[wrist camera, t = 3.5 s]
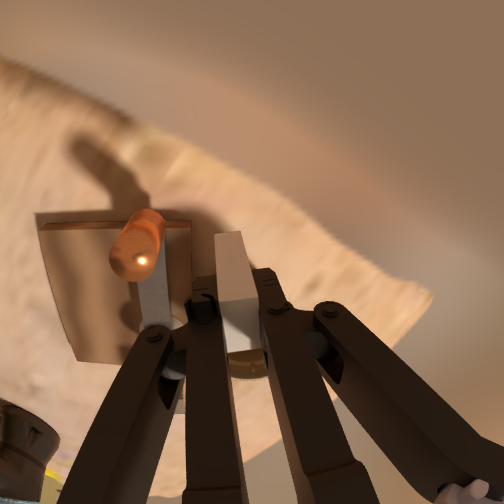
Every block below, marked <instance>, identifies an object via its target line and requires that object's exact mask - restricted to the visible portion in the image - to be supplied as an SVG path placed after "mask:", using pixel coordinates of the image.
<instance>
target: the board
mask: <svg viewBox="0 0 504 504" xmlns="http://www.w3.org/2000/svg"><path fill="white" fill-rule="evenodd" d="M127 222H128V221H118V222H80V223H52V224H46V225H45V226H43V227H42V228H41V229H40V230H39V231H38V232H39V237H40V242H41V247H42V251H43V256H44V260H45V264H46V268H47V272H48V276H49V280H50V284H51V287H52V291H53V294H54V298H55V301H56V304H57V307H58V310H59V313H60V316H61V319H62V322H63V325H64V328H65V331H66V334H67V336H68V339H69V342H70V344H71V347H72V349H73V352H74V354H75V357H76V359H77V361H81V362H90V363H101V364H114V365H122V364H123V363H124V361H125V359H126V357H127V355H128V353H129V351H130V350H131V348H132V346H133V344H134V342H135V341H136V339H137V337H138V335H139V334H140V332H141V331H142V330H143V329H145V328H144V322H143V316H142V310H141V304H140V298H139V291H138V284H137V282H130V281H126V280H124V279H122V278H120V277H119V276H118V275H117V274H115V272H114V271H113V270H112V268H111V266H110V263H109V252H110V249H111V247H112V246H113V244H114V242H115V241H116V239H117V238H118V236H119V235H120V233H121V232H122V230H123V228H124V227H125V225H126V224H127ZM166 230H167V251H168V267H169V280H170V293H171V304H172V314H173V324H174V329H177V328H179V327H182V326H183V325H185V324H186V323H187V322H188V319H187V315H186V311H185V306H184V302H185V299H186V298H188V297H189V296H190V295H192V292H193V290H192V258H191V221H166Z"/></svg>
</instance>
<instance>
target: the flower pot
mask: <svg viewBox="0 0 504 504" xmlns="http://www.w3.org/2000/svg"><path fill="white" fill-rule="evenodd" d="M228 358H229V365H230V373H231V379H232V380H239V381H257V380H262V379H266V378H268V375H267V370H266V368H264V360H263V347H262V348H258V349H251V350H244V351H236V352H228Z"/></svg>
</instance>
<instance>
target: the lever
mask: <svg viewBox="0 0 504 504" xmlns="http://www.w3.org/2000/svg"><path fill="white" fill-rule="evenodd" d="M109 263H110V266H111V268H112V270H113V271H114V272H115V274H117V275H118V276H119V277H120V278H122V279H124V280H126V281H130V282H137V284H138V291H139V298H140V304H141V310H142V316H143V322H144V328H147V327H149V326H152V325H164V326H166V327H167V328H169V330H170V331H171V330H174V324H173V314H172V304H171V293H170V280H169V267H168V251H167V230H166V220H164V219H163V217H162V216H161V215H160V214H159V213H158V212H156V211H154V210H152V209H141V210H138V211H137V212H135V213H134V214H133V215H132V217H131V218H130V219H129V221H128V222H127V224H126V225H125V227H124V228H123V230H122V232H121V233H120V235H119V236H118V238H117V239H116V241H115V242H114V244H113V246H112V247H111V249H110V252H109ZM185 391H186V380H185V382H184V385H183V388H182V391H181V394H180V397H179V400H178V403H177V406H176V409H175V412H174V414H185Z"/></svg>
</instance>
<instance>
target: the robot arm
mask: <svg viewBox="0 0 504 504" xmlns="http://www.w3.org/2000/svg"><path fill="white" fill-rule="evenodd" d="M214 240H215V257H216V273H217V275H213V276H204V277H197V279H196V280H195V281H194V283H193V292H192V295H190V296H189V297H188V298H186V299H185V302H184V306H185V311H186V315H187V319H188V322H187V323H186V324H185V325H183V326H182V327H179V328H177V329H174V330H171V331H170V330H169V328H167V327H166V326H164V325H152V326H149V327H147V328H145V329H143V330H142V331H141V332H140V334H139V335H138V337H137V339H136V341H135V342H134V344H133V346H132V348H131V350H130V351H129V353H128V355H127V357H126V359H125V361H124V363H123V364H122V366H121V368H120V370H119V372H118V374H117V376H116V378H115V379H114V381H113V383H112V385H111V387H110V389H109V391H108V393H107V395H106V397H105V399H104V401H103V403H102V405H101V407H100V409H99V411H98V413H97V415H96V417H95V419H94V421H93V423H92V425H91V427H90V429H89V431H88V433H87V435H86V437H85V440H84V442H83V444H82V446H81V448H80V450H79V452H78V455H77V457H76V459H75V461H74V463H73V466H72V468H71V470H70V472H69V475H68V477H67V479H66V482H65V484H64V486H63V489H62V491H61V493H60V496H59V498H58V501H57V504H146V502H147V498H148V495H149V492H150V488H151V485H152V482H153V479H154V475H155V472H156V469H157V466H158V462H159V459H160V456H161V453H162V450H163V447H164V443H165V440H166V437H167V434H168V431H169V428H170V425H171V422H172V419H173V415H174V412H175V409H176V406H177V403H178V400H179V397H180V394H181V391H182V388H183V385H184V382H185V377H186V391H185V443H186V479H187V485H186V489H185V490H184V491H183V494H182V504H249V499H248V493H247V488H246V482H245V475H244V468H243V462H242V455H241V448H240V441H239V434H238V427H237V420H236V413H235V405H234V397H233V390H232V382H231V373H230V365H229V358H228V352H236V351H244V350H251V349H258V348H262V347H263V360H264V368H266V370H267V375H268V379H269V383H270V388H271V392H272V396H273V400H274V404H275V409H276V413H277V417H278V421H279V425H280V430H281V434H282V438H283V442H284V446H285V450H286V454H287V458H288V462H289V466H290V470H291V474H292V479H293V483H294V487H295V490H296V494H297V501H298V504H380V503H379V500H378V498H377V495H376V492H375V490H374V487H373V485H372V482H371V480H370V477H369V475H368V472H367V470H366V468H365V466H364V465H363V464H362V462H360V461H358V460H356V459H355V458H354V456H353V454H352V452H351V449H350V446H349V444H348V441H347V439H346V436H345V434H344V431H343V428H342V426H341V423H340V421H339V418H338V416H337V413H336V411H335V408H334V406H333V403H332V401H331V398H330V396H329V393H328V390H327V388H326V385H325V383H324V381H323V378H324V379H325V380H326V381H327V383H328V384H329V385H330V386H331V388H332V389H333V390H334V392H335V393H336V394H337V395H338V397H339V398H340V399H341V400H342V402H343V403H344V404H345V405H346V407H347V408H348V409H349V410H350V412H351V413H352V414H353V415H354V417H355V418H356V419H357V420H358V422H359V423H360V424H361V425H362V427H363V428H364V429H365V430H366V432H367V433H368V434H369V435H370V437H371V438H372V439H373V440H374V442H375V443H376V444H377V445H378V446H379V448H380V449H381V450H382V451H383V452H384V454H385V455H386V456H387V457H388V459H389V460H390V461H391V462H392V463H393V465H394V466H395V467H396V468H397V470H398V471H399V472H400V473H401V474H402V476H403V477H404V478H405V479H406V480H407V482H408V483H409V484H410V485H411V486H412V487H413V488H414V489H415V490H416V491H417V492H418V493H419V494H420V495H421V496H423V497H424V498H425V499H426V500H428V501H430V502H431V503H433V504H504V447H503V446H501V445H499V444H496V443H494V442H492V441H490V440H487V439H485V438H483V437H481V436H480V435H479V434H478V433H477V432H476V431H475V430H474V429H473V428H472V427H471V426H470V425H469V424H468V423H467V422H466V421H465V420H464V419H463V418H462V417H461V416H460V415H459V414H458V413H457V412H456V411H455V410H454V409H453V408H452V407H451V406H450V405H449V404H448V403H447V402H445V401H444V400H443V399H442V398H441V397H440V396H439V395H438V394H437V393H436V392H435V391H434V390H433V389H432V388H431V387H430V386H429V385H428V384H427V383H426V382H425V381H424V380H423V379H422V378H421V377H419V376H418V375H417V374H416V373H415V372H414V371H413V370H412V369H411V368H410V367H409V366H408V365H407V364H406V363H405V362H404V361H403V360H401V359H400V358H399V357H398V356H397V355H396V354H395V353H394V352H393V351H392V350H391V349H390V348H389V347H388V346H387V345H385V344H384V343H383V342H382V341H381V340H380V339H379V338H378V337H377V336H376V335H375V334H374V333H373V332H371V331H370V330H369V329H368V328H367V327H366V326H365V325H364V324H363V323H362V322H361V321H360V320H358V319H357V318H356V317H355V316H354V315H353V314H352V313H351V312H350V311H349V310H348V309H346V308H345V307H344V306H343V305H341V304H340V303H337V302H334V301H325V302H321V303H319V304H317V305H316V306H315V307H314V311H304V310H298V309H295V308H294V307H293V305H292V304H291V303H290V302H288V301H287V300H286V298H285V295H284V293H283V291H282V288H281V286H280V283H279V281H278V278H277V276H276V273H275V272H274V271H273V270H271V269H270V268H262V269H254V270H251V268H250V265H249V261H248V257H247V253H246V250H245V246H244V242H243V239H242V235H241V231H235V232H227V233H219V234H214ZM321 375H322V376H323V378H322V376H321ZM59 444H60V437H59V435H58V434H57V433H56V432H55V431H54V430H53V429H52V428H51V427H50V426H49V425H48V424H46V423H45V422H44V421H42V420H41V419H39V418H38V417H36V416H34V415H32V414H31V413H29V412H27V411H25V410H22V409H20V408H17V407H14V406H9V405H6V406H3V407H2V409H1V412H0V504H40V498H41V491H42V485H43V480H44V474H45V470H46V466H47V464H48V462H49V461H50V460H51V458H52V457H53V455H54V454H55V452H56V451H57V450H58V448H59Z"/></svg>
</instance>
